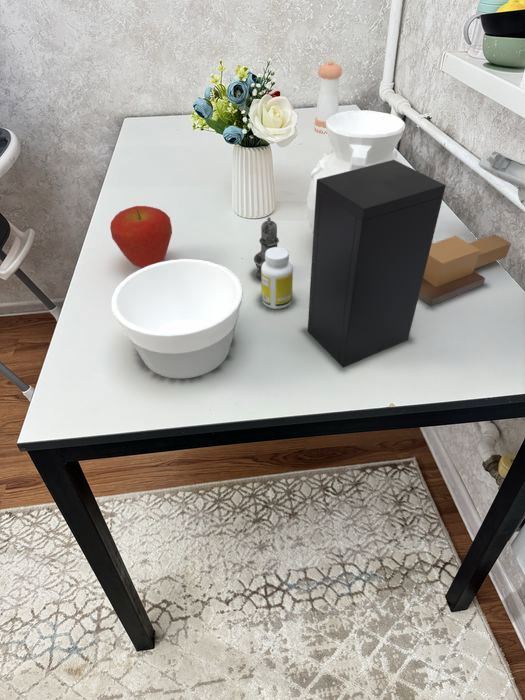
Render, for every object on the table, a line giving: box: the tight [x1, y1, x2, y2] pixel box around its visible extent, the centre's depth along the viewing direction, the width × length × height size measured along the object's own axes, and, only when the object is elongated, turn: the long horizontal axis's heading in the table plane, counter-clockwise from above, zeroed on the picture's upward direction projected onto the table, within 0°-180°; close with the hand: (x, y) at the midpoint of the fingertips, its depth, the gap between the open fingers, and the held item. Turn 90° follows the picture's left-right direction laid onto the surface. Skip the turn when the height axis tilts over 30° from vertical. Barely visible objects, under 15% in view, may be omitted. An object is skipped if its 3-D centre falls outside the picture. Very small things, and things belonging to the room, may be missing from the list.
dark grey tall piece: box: [253, 216, 280, 282], centre depth 90 cm, size 6×6×12 cm
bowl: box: [110, 258, 244, 380], centre depth 75 cm, size 19×19×11 cm
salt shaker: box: [314, 60, 343, 135], centre depth 148 cm, size 7×7×19 cm
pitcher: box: [306, 109, 406, 234], centre depth 92 cm, size 19×18×25 cm
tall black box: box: [307, 160, 447, 368], centre depth 72 cm, size 10×13×26 cm
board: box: [418, 270, 486, 307], centre depth 91 cm, size 10×13×2 cm
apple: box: [109, 205, 173, 269], centre depth 93 cm, size 11×11×12 cm
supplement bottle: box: [261, 246, 294, 310], centre depth 85 cm, size 5×5×10 cm
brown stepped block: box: [423, 234, 512, 287], centre depth 91 cm, size 6×19×5 cm, turn 119°
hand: (514, 164), depth 82 cm, fingers open, 8 cm apart
